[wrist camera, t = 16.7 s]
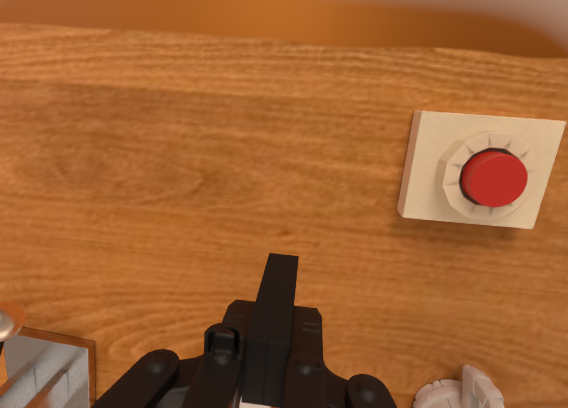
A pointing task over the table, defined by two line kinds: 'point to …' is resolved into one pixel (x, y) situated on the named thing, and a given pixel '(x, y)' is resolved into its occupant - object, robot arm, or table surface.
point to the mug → (460, 392)
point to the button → (494, 178)
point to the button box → (460, 150)
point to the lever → (10, 321)
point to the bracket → (48, 371)
